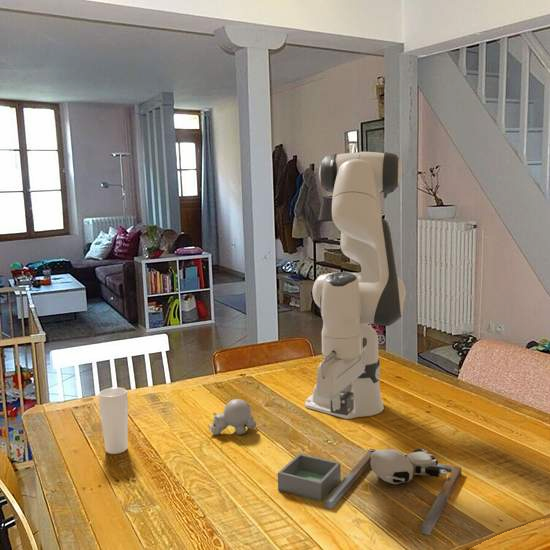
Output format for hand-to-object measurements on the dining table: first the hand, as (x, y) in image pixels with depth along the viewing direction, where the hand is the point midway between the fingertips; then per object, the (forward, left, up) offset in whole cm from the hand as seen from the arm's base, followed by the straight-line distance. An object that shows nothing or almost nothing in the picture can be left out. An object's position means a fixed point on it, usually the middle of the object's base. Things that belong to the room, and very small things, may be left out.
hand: (342, 404), depth 137 cm
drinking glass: (-52, -19, -14) cm, 57 cm away
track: (+15, -7, -14) cm, 22 cm away
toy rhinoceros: (-32, +2, -14) cm, 35 cm away
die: (0, 0, -2) cm, 2 cm away
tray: (-2, -13, -14) cm, 19 cm away
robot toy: (+15, 0, -14) cm, 21 cm away
